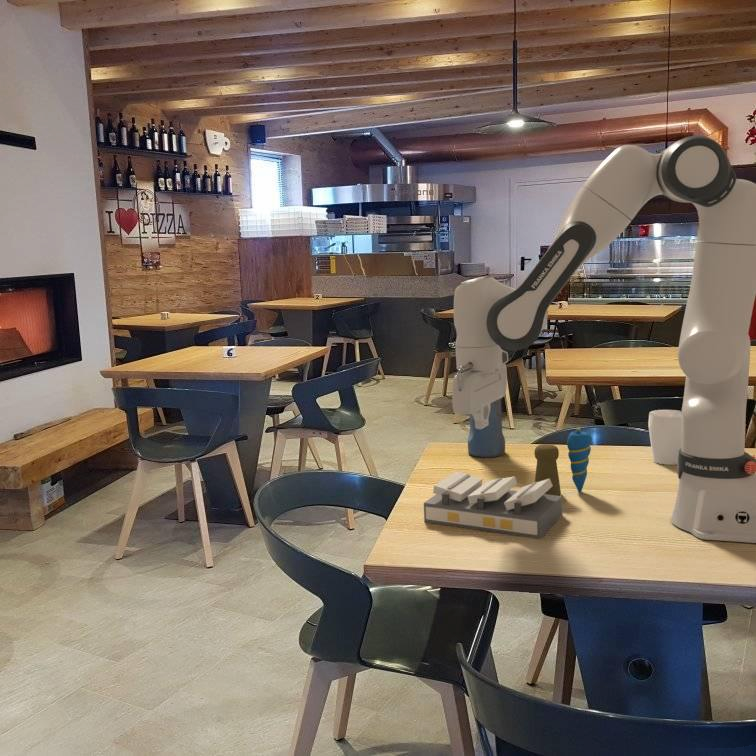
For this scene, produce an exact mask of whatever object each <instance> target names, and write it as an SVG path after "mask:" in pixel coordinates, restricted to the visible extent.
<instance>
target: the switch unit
mask: <svg viewBox="0 0 756 756" xmlns="http://www.w3.org/2000/svg"><path fill="white" fill-rule="evenodd" d="M517 491H518V490H513V489H510V490H509V491H508V492H506V493H505V494H504V495H503V496H502V497H500V498H499V499H498V500H493V501H486V502H484V498H479V497H478V498H477V503H473V504H470V503H469V500H468V496H467V497H466V498H465V499H463V500H462V501H461V502H459V501H456V500H453V499H450V498H449V494H447V493H442V496H441V495H438V494H434V495H433V496H431V497H430V498H428V499H427V500H426V501H424V502H423V517H424V518H423V519H424V523H430V524H437V525H442V526H443V525H444V526H448V527H449V526H450V527H457V528H463V529H470V530H477V531H485V532H490V533H498V534H499V533H500V534H503V535H511V536H517V537H526V538H532V539H538V540H541V538H542V537H543V536H544V535H546V533H547V532H548V531H549V530H550V529H551V528H552V527H553V526H554V525H555V523H557V521H559V519H561V518H562V516H563V495H561V496H556V495H548V494H543V495H542V496H541V497H540V498H539V499H538V500H537V501H536V502H534V503H531V504H528V505H524V506H521V503H519V502H515V503H514V509H511V510H508V511H507V509H506V507H505V504H504V502H506V501H507V500H508V499H509V498H510V497H512V496H513V495H514V494H515V493H516V492H517Z"/></svg>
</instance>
